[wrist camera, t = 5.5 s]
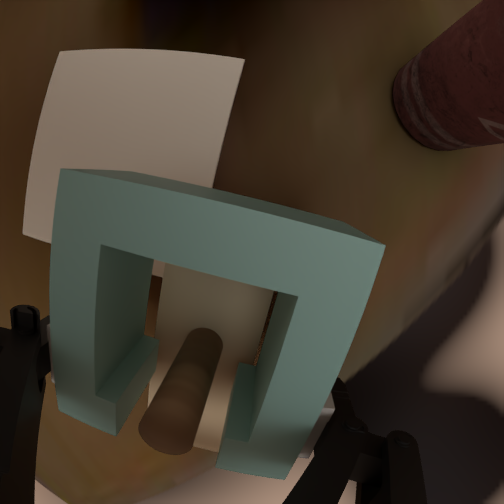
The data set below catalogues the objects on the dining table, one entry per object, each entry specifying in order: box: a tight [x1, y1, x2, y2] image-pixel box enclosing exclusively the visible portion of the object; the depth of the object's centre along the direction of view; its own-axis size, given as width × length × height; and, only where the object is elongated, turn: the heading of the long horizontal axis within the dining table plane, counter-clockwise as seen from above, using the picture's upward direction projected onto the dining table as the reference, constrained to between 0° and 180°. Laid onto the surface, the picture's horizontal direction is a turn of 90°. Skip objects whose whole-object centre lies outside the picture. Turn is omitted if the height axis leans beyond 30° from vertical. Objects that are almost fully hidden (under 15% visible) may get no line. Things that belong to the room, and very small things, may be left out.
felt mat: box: [23, 49, 245, 278], centre depth 18 cm, size 14×14×1 cm
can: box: [393, 0, 504, 151], centre depth 9 cm, size 6×6×14 cm
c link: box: [49, 168, 386, 480], centre depth 11 cm, size 9×9×5 cm
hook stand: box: [138, 262, 274, 455], centre depth 14 cm, size 13×5×12 cm, turn 167°
